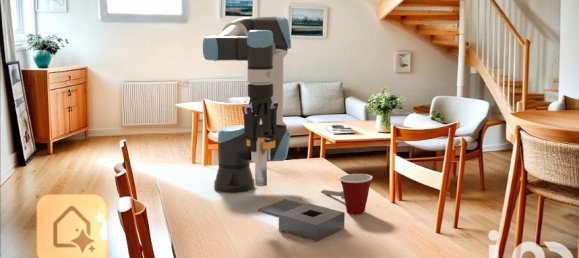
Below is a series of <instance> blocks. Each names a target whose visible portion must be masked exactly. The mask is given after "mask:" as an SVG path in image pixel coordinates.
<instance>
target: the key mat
mask: <svg viewBox="0 0 579 258" xmlns="http://www.w3.org/2000/svg"><path fill="white" fill-rule="evenodd" d="M304 204H305V203H300V202H298V201H293V200H291V199H286V198H284V199H281V200H279V201H275V202H273V203H270V204H268V205H265V206H262V207H260V208H257V211H258V212H260V213H264V214H267V215H270V216H271V215H272V216H275V217H278V218H279V214H281V213H283V212H286V211H289V210H291V209H294V208H296V207H299V206H301V205H304Z"/></svg>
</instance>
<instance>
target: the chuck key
mask: <svg viewBox="0 0 579 258" xmlns="http://www.w3.org/2000/svg"><path fill="white" fill-rule="evenodd" d="M257 141H260V163H256V162H254V164H255V165H254V167H255V169H254V171H255V175H254V176H255V177H254V178H255V179H254V186H255V187H266V186H267V185H268V161H267V149H270V148H274V147H275V141H274V140H269V139H263V138H258V140H257ZM247 146H250V140H247Z"/></svg>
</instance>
